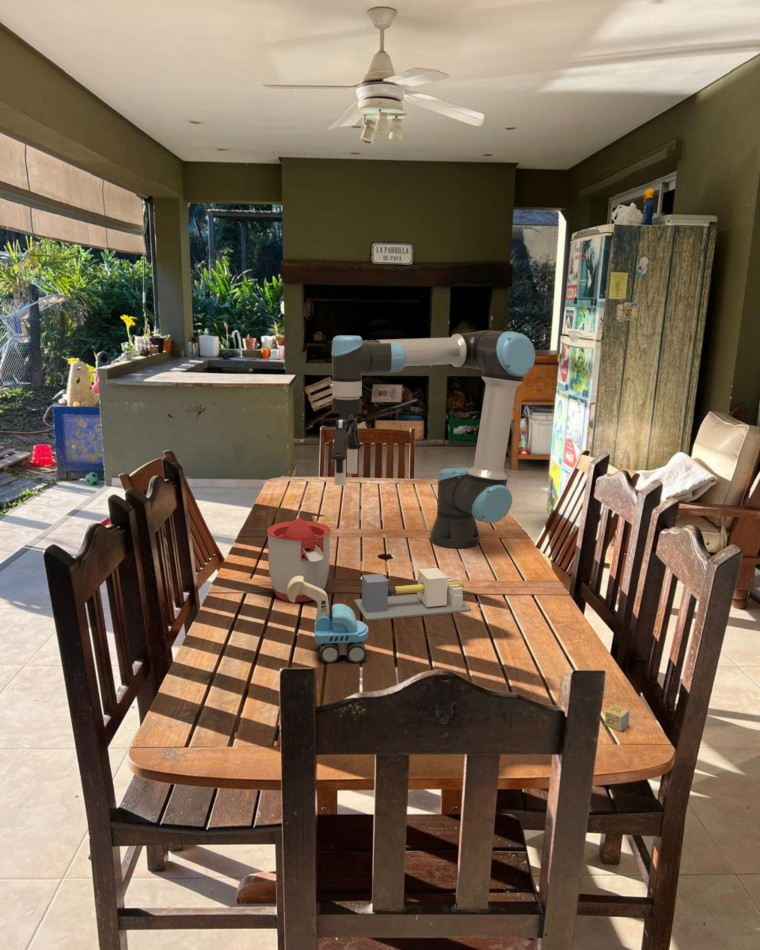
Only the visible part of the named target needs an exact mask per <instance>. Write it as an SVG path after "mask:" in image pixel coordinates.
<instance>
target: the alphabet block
mask: <svg viewBox="0 0 760 950" xmlns="http://www.w3.org/2000/svg"><path fill="white" fill-rule="evenodd" d="M630 712H631V711H630V709H626V708H624V707H621V706H618V705H616V704H612V705H611V706H610V707H608V708H607V709H606V710H605V716H604V717H605V719H604V721H605V722H604V726H606V727H608V728H610V729H614V730H616V731H618V732H623V731H624V730H625V729H626V728H627V727H628V726H629V721H630Z"/></svg>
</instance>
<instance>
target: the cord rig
mask: <svg viewBox="0 0 760 950" xmlns="http://www.w3.org/2000/svg"><path fill="white" fill-rule="evenodd" d="M446 577H447V578H448V579H447V603H446V605H443V606H432V607H426V606H425V604H424V603H423V602H422V601H421V600H420V599H419V597H418V596H417V594H418V592H424V590H425V584H419V585H418V584H408V585H398V586H397V585H396V586H389V580H388V579H387V578H386V576H384V574H383V573H378V574H377V573H375V574H362V576H361V599H360V598H358V599H353V602H354V604H355V606H356V607H357V608H358V610H359V611H360V613H361V615H362V616H363V618H364V620H365V622H371V621H372V622H373V621H383V620H392V619H393V620H394V619H402V618H404V619H405V618H413V617H423V616H433V615H445V614H454V613H464V612H465V613H467V612H472V610H473V609H472V608H471V607H470V606H469V604H467V603H466V602H465V601H464V600H463V599H464V595H463V591H464V590H463V589H465V583H464V581H463V580H458V581H457V580H455V579H453V578H452V576H451V575H450V576H446ZM412 593H413V594H412ZM414 593H415V594H414ZM401 594H402V595H401ZM403 594H404V595H403Z"/></svg>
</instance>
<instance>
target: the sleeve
mask: <svg viewBox="0 0 760 950" xmlns="http://www.w3.org/2000/svg"><path fill="white" fill-rule="evenodd" d="M417 571H418V572H417V573H418V575H417V585H419V584H425V590H424V592H417V593H416V594H417V596H418V597H419V599H420V600H421V601H422V602H423V603H424V604H425V606H426V607H432V606H443V605H446V603H447V579H448V578H447V577H448V576H447V575H445V573H443V572H442V571H441V570H440V569H439V568H438V567H433V568H418V569H417Z"/></svg>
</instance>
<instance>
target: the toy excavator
mask: <svg viewBox="0 0 760 950" xmlns="http://www.w3.org/2000/svg"><path fill="white" fill-rule="evenodd" d="M299 592H301V593H303V594H304V595H306V596H308V597H310V598H312V599H313V600H312V601H315V602H316V605H317V606H316V615H315V622H314V643H316V644H319V650H318V652H319V657H320V659H321V660H322V662H324V663H325V664H326V663H327V664H332V663H335V662H337V660H338V659H339V657H340V656H346V658H347V659H348V661H349V662H352V663H354V664H359V663H362V662H363V661H365V658H366V657H367V648H366V645H365V641H366V640H367V639H368V637H369V627H368V625H367V624H366V623H364V622H363V621H361V620H357V617H356V614H355V612H354V611H353V609H352V608H351V607H350V606H348V605H347V604H344V603H334V604H333V605H332V606H331V613H330V605H329V598H328V594H327V592H326V591H325V589H324V590H322V589H320V588H318V587H316V586H313V585H311V584H309V583H306V582H304V577H303V576H295V577H294V578H292V579H291V580H290V581H289V583H288V587H287V596H288V599H289V600H290V601H291V602H290V603H292V602H293V604H294V603H296V602H295V599H296V597H297V595H298V593H299Z"/></svg>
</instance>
